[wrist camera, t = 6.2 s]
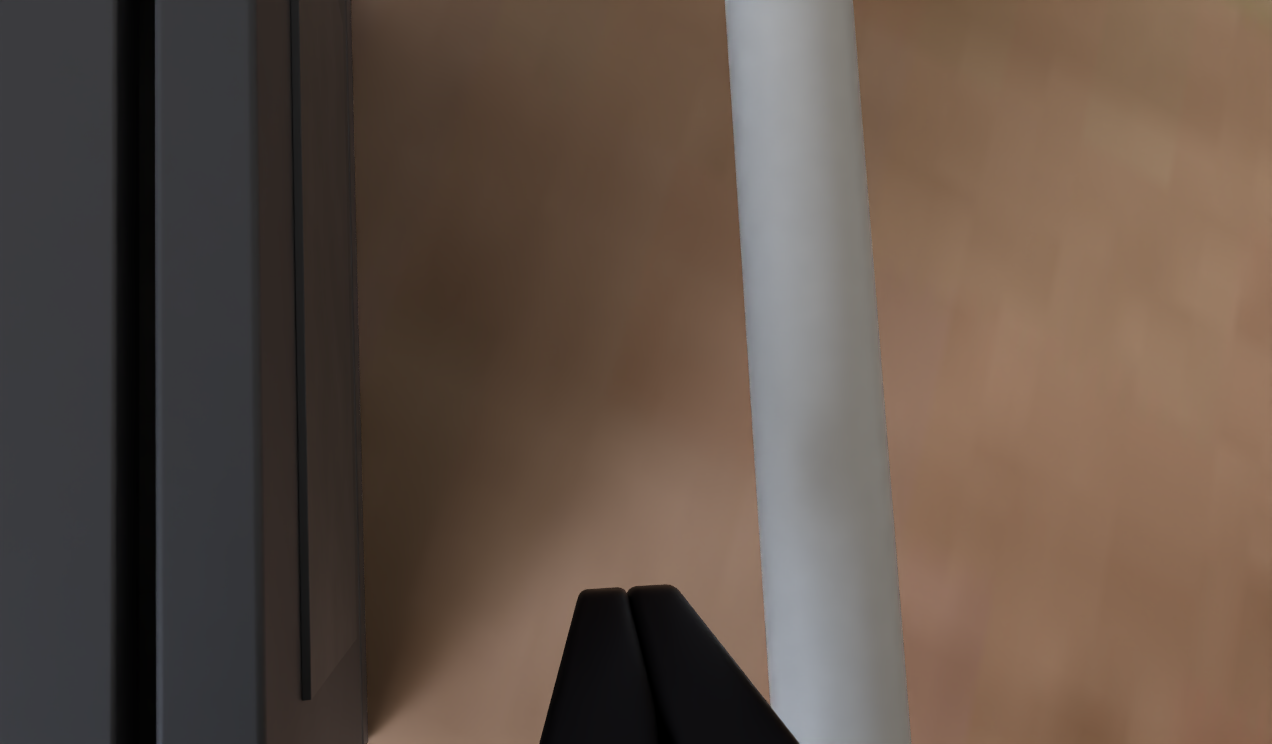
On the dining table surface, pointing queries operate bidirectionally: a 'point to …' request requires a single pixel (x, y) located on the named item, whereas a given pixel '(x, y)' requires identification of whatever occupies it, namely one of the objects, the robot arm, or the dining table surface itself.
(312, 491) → the oven door
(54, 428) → the oven
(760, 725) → the robot arm
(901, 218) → the dining table surface
